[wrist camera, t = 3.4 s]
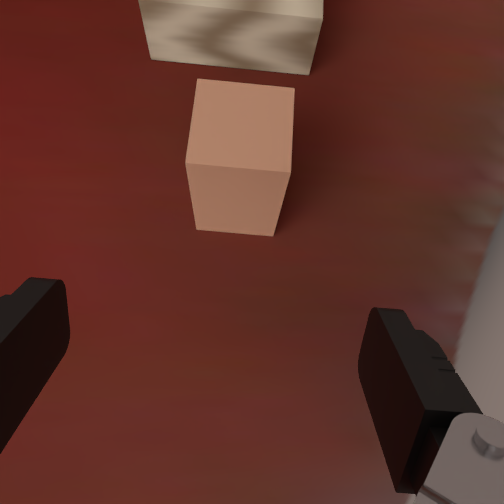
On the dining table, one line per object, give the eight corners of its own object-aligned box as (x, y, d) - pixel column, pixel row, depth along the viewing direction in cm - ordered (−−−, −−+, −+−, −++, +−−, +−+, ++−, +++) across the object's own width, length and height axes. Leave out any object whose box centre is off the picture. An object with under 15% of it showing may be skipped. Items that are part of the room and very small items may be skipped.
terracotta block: (196, 229, 27) (185, 162, 20) (204, 163, 29) (197, 78, 22) (273, 236, 27) (291, 172, 20) (277, 169, 29) (294, 88, 22)
